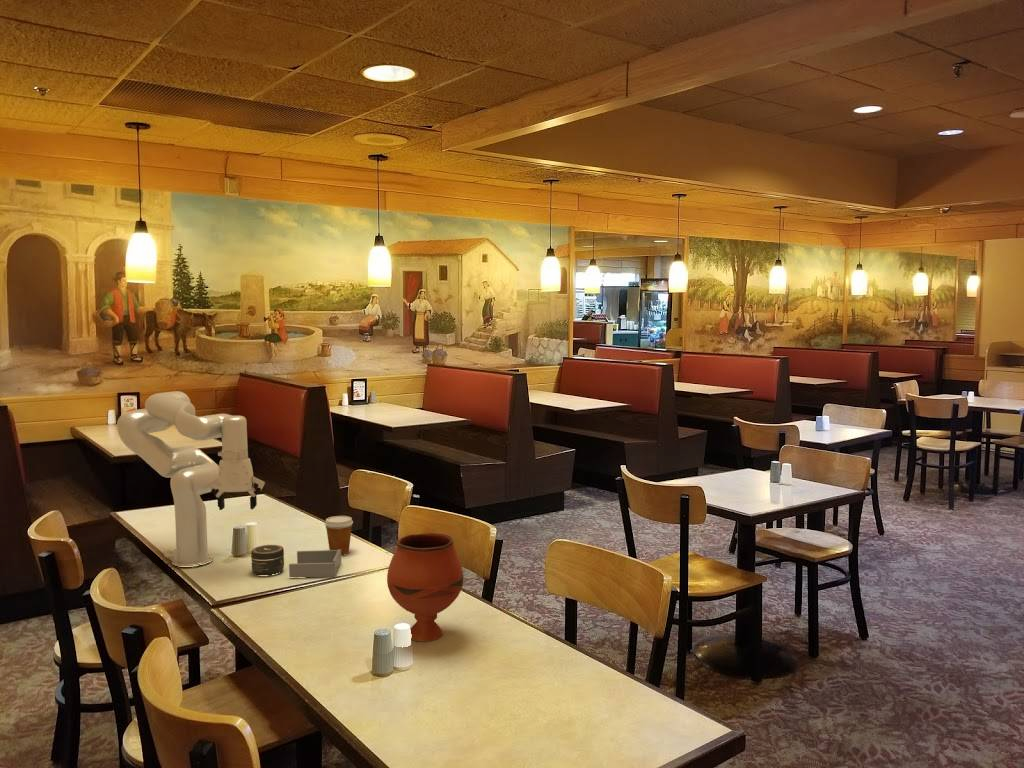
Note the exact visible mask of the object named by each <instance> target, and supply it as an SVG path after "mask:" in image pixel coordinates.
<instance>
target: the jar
mask: <svg viewBox="0 0 1024 768" xmlns="http://www.w3.org/2000/svg"><path fill="white" fill-rule="evenodd" d="M251 549H252V550H251V551H250V552H251V553H250V554H251V556H250V558H251V571H252V573H253V574H254V575H255V574H256V575H272V574H276V573H279V572H281V571H282V570H284V568H285V550H284V549H285V548H284V546H282V545H278V544H264V545H259V546H256V547H254V548H251ZM282 572H283V571H282ZM282 572H281V573H282ZM256 575H255V576H256Z"/></svg>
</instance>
